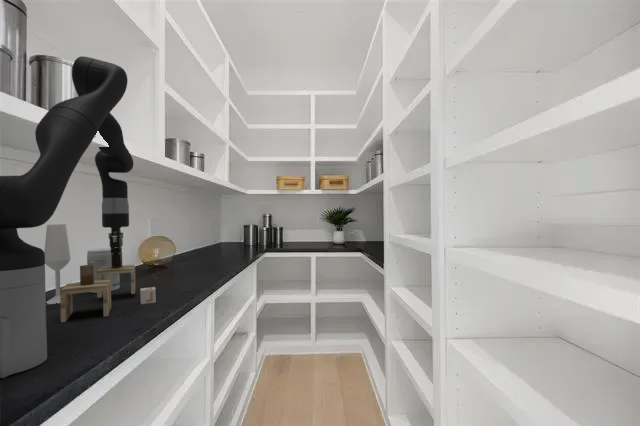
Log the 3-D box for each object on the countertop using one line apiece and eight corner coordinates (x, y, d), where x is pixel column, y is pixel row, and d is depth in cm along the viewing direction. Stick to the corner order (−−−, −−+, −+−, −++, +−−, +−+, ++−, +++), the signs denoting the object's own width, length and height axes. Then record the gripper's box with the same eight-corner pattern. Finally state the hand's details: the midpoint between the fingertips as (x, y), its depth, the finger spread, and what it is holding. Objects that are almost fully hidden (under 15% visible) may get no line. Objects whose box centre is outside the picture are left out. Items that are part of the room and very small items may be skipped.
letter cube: (155, 302, 103) (155, 289, 103) (140, 304, 101) (140, 290, 101) (155, 299, 107) (154, 286, 107) (140, 301, 105) (140, 288, 105)
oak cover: (134, 293, 109) (133, 252, 109) (97, 297, 104) (96, 254, 104) (135, 287, 118) (134, 249, 118) (100, 291, 113) (100, 252, 113)
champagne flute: (51, 299, 110) (49, 224, 110) (75, 297, 111) (73, 224, 112) (39, 304, 103) (38, 225, 103) (65, 302, 105) (63, 224, 105)
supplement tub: (111, 286, 129) (110, 247, 129) (125, 289, 124) (124, 248, 124) (82, 292, 120) (81, 250, 120) (96, 294, 115) (95, 251, 115)
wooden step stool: (108, 316, 90) (107, 266, 90) (60, 322, 85) (59, 269, 85) (111, 307, 98) (110, 261, 98) (68, 312, 94) (67, 265, 94)
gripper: (128, 211, 107) (129, 267, 107) (129, 212, 119) (130, 262, 119) (99, 212, 103) (100, 269, 103) (104, 213, 116) (105, 264, 116)
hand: (116, 265), depth 111 cm, fingers closed on oak cover, 3 cm apart
